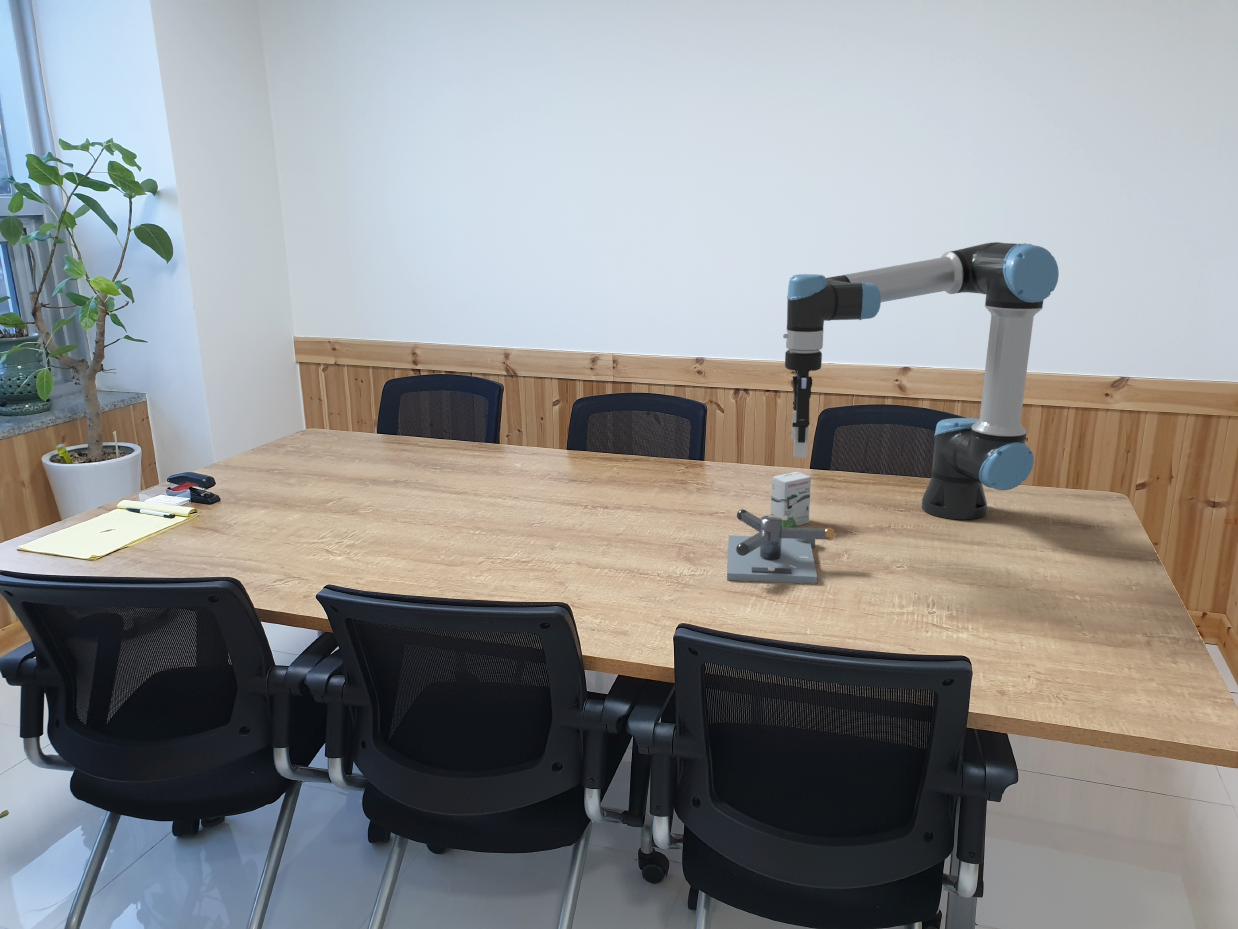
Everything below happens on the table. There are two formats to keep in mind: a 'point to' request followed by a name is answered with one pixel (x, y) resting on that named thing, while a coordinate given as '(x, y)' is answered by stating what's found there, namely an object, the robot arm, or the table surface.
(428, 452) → the table surface
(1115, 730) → the table surface
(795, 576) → the stand
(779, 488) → the ink box
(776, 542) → the capstan
